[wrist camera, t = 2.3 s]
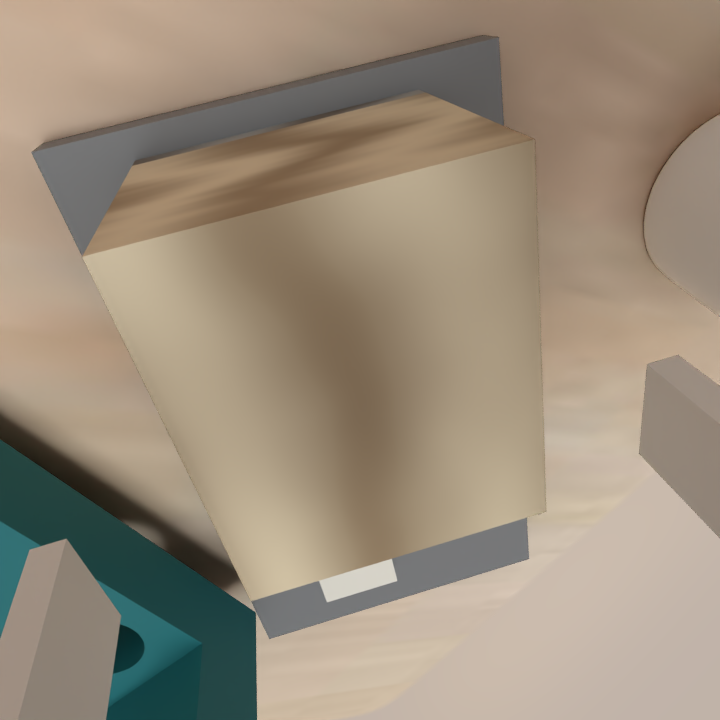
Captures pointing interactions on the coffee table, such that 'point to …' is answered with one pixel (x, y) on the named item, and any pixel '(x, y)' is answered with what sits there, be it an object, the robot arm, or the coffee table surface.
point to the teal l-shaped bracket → (136, 603)
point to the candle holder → (689, 216)
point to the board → (261, 110)
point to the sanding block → (339, 330)
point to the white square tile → (358, 580)
